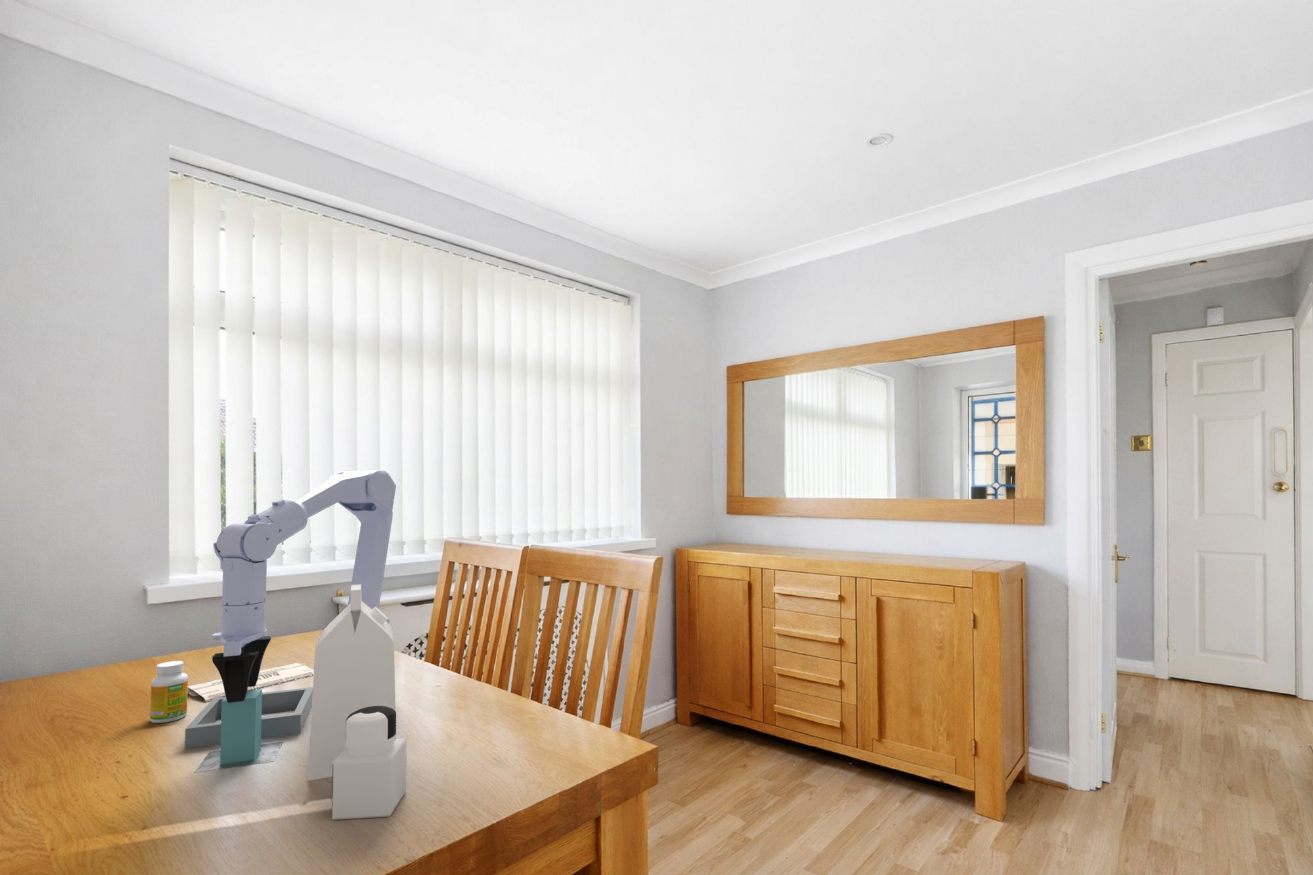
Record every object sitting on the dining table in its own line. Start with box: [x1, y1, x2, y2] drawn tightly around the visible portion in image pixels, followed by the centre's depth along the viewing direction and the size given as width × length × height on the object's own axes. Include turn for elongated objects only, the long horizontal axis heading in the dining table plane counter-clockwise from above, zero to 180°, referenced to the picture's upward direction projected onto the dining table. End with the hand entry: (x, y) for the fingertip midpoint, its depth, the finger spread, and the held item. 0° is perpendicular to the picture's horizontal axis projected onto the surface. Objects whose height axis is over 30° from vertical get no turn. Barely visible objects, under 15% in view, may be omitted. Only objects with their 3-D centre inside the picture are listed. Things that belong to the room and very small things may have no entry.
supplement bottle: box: [149, 660, 189, 724], centre depth 121 cm, size 5×5×10 cm
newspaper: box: [187, 662, 314, 703], centre depth 141 cm, size 23×12×2 cm, turn 144°
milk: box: [307, 584, 397, 782], centre depth 100 cm, size 12×12×26 cm
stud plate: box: [193, 741, 284, 774], centre depth 100 cm, size 10×8×3 cm
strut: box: [220, 688, 263, 764], centre depth 100 cm, size 4×4×9 cm
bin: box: [184, 686, 313, 750], centre depth 114 cm, size 16×16×4 cm
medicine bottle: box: [331, 706, 407, 821], centre depth 87 cm, size 7×7×12 cm
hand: (242, 693), depth 101 cm, fingers open, 7 cm apart
